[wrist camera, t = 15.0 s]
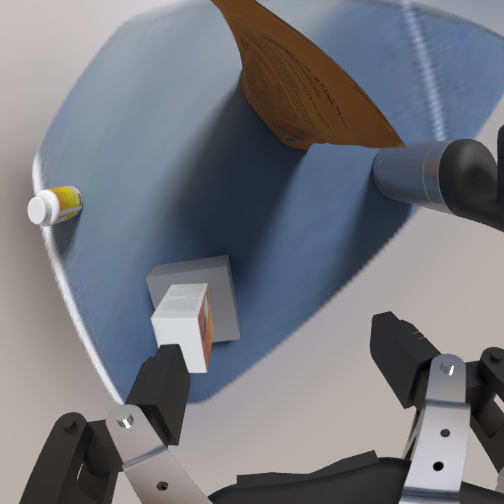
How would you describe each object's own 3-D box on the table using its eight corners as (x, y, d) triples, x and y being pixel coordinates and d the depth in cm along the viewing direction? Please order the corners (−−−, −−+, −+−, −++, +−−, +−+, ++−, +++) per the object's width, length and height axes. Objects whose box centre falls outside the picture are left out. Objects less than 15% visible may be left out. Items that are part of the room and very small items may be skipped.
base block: (228, 253, 44) (226, 265, 39) (240, 320, 48) (240, 338, 42) (156, 264, 44) (145, 277, 39) (174, 327, 48) (166, 346, 42)
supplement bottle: (65, 180, 39) (29, 185, 30) (88, 193, 40) (53, 201, 30) (56, 209, 41) (20, 219, 31) (77, 223, 41) (43, 236, 32)
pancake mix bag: (290, 173, 41) (375, 177, 14) (214, 78, 36) (179, -40, 10) (324, 149, 40) (444, 124, 13) (249, 55, 36) (262, -71, 9)
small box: (214, 330, 41) (208, 374, 31) (178, 331, 41) (163, 374, 31) (209, 281, 39) (199, 317, 29) (170, 283, 39) (149, 318, 29)
